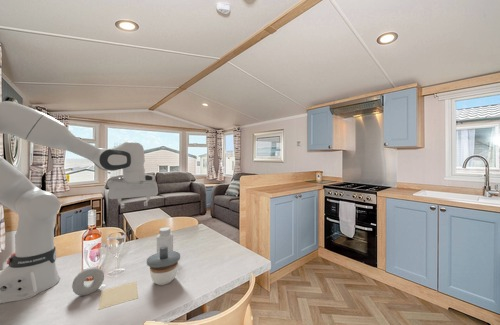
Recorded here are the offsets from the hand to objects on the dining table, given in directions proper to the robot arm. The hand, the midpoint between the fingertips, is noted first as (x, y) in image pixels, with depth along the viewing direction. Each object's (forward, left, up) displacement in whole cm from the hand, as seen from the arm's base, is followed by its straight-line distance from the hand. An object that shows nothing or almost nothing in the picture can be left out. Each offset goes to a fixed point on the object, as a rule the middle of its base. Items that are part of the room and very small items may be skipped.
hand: (134, 206), depth 99 cm
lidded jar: (+10, -18, -29) cm, 36 cm away
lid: (+10, -18, -20) cm, 29 cm away
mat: (-6, -19, -29) cm, 35 cm away
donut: (-16, -12, -29) cm, 35 cm away
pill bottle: (+14, +5, -29) cm, 33 cm away
